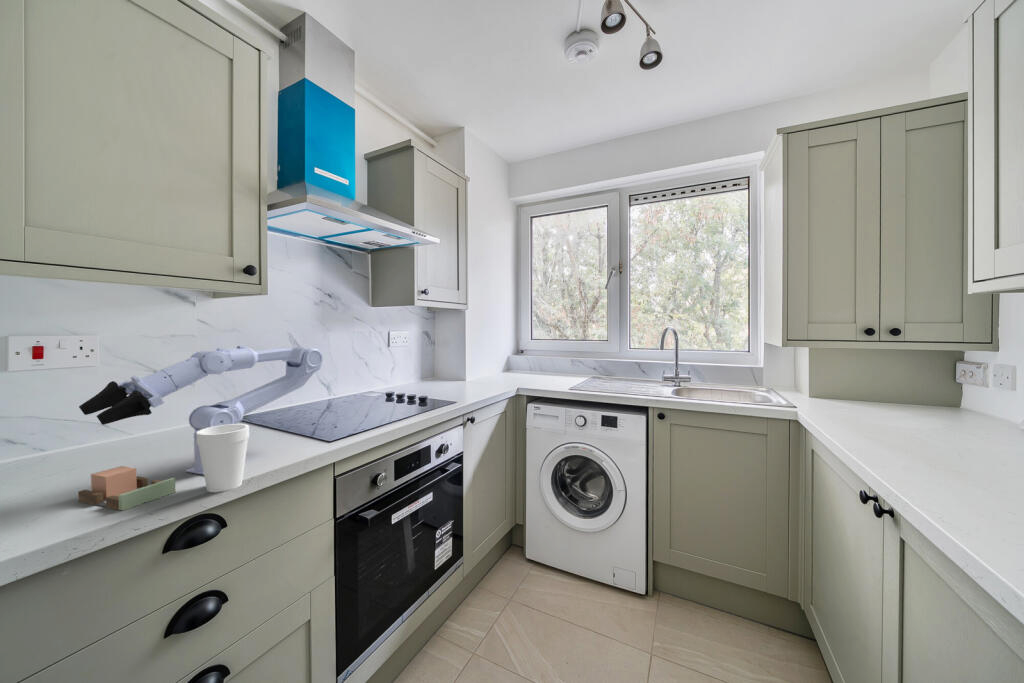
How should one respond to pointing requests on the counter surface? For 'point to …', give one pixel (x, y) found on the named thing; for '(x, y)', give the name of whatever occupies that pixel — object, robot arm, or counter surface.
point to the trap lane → (130, 494)
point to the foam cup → (223, 455)
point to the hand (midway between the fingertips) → (90, 415)
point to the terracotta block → (114, 481)
